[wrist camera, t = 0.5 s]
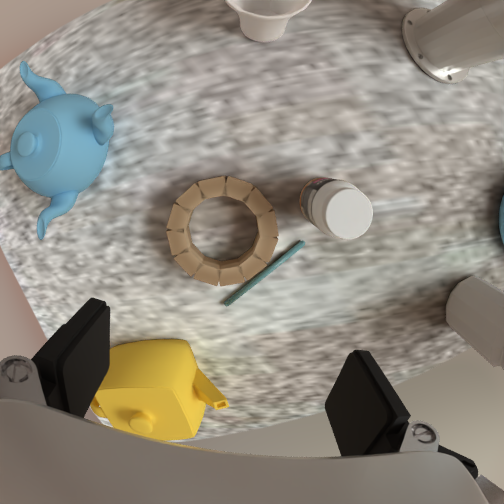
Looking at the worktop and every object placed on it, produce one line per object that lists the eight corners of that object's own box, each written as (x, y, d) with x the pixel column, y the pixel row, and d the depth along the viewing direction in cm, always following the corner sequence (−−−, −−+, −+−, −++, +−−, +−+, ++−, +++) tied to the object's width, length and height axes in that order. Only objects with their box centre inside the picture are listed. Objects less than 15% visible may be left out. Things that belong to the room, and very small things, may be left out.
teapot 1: (17, 166, 31) (-31, 171, 22) (68, 71, 29) (25, 52, 19) (84, 221, 34) (40, 242, 25) (145, 120, 32) (111, 105, 22)
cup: (308, 14, 28) (330, -25, 19) (275, 65, 30) (289, 32, 21) (246, -13, 27) (250, -57, 17) (209, 36, 29) (201, -4, 19)
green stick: (302, 238, 36) (303, 240, 36) (305, 243, 37) (306, 244, 36) (223, 302, 38) (222, 304, 38) (226, 305, 38) (226, 308, 38)
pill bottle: (344, 178, 35) (380, 184, 25) (341, 225, 36) (375, 245, 27) (298, 175, 34) (321, 179, 25) (296, 223, 36) (318, 245, 26)
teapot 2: (219, 327, 39) (215, 385, 28) (237, 393, 43) (238, 452, 31) (92, 341, 39) (59, 389, 28) (121, 401, 43) (101, 451, 31)
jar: (488, 285, 40) (557, 330, 23) (461, 332, 43) (521, 388, 25) (462, 264, 39) (542, 310, 22) (432, 317, 41) (499, 380, 24)
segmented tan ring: (228, 155, 33) (228, 154, 30) (294, 233, 36) (299, 239, 33) (153, 223, 35) (146, 228, 32) (219, 294, 38) (217, 304, 35)
